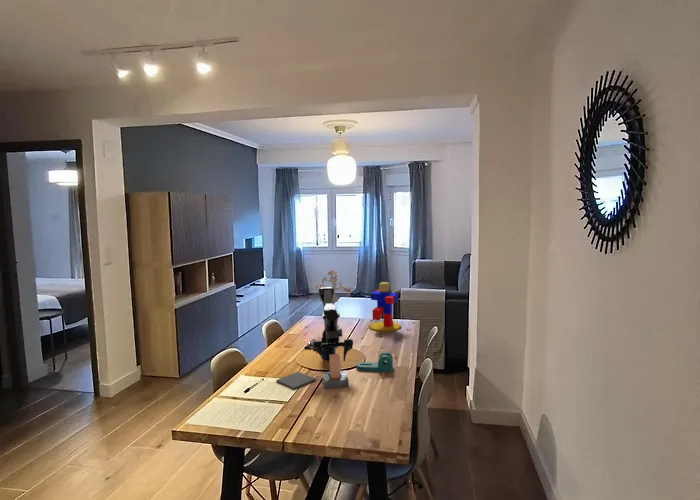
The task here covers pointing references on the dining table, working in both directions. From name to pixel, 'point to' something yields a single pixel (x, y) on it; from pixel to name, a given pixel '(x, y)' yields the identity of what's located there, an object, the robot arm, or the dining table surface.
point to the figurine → (384, 309)
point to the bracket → (378, 364)
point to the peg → (334, 366)
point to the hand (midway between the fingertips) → (334, 361)
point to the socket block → (335, 380)
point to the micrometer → (309, 344)
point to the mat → (296, 380)
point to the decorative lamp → (334, 284)
